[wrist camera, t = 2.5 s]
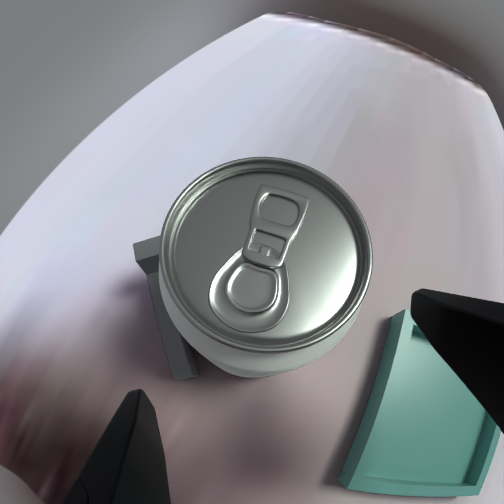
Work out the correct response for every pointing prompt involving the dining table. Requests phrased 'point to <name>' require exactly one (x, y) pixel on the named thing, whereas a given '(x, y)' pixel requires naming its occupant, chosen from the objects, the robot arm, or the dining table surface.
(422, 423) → the tray
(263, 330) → the can
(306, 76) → the dining table surface
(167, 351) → the bay
